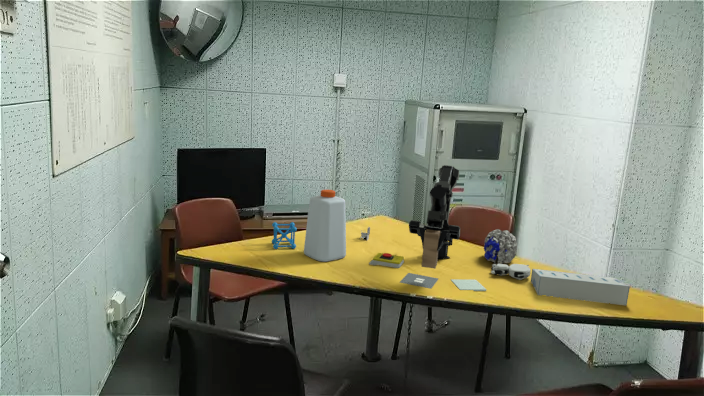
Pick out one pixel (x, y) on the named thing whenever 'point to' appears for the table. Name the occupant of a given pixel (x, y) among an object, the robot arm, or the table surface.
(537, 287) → the warehouse
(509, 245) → the educational model
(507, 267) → the robot toy
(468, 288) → the pad
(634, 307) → the table surface
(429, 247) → the walnut block
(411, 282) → the gray square plate
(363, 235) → the architectural model
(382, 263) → the emergency button
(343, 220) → the plastic bottle
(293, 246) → the molecular structure
